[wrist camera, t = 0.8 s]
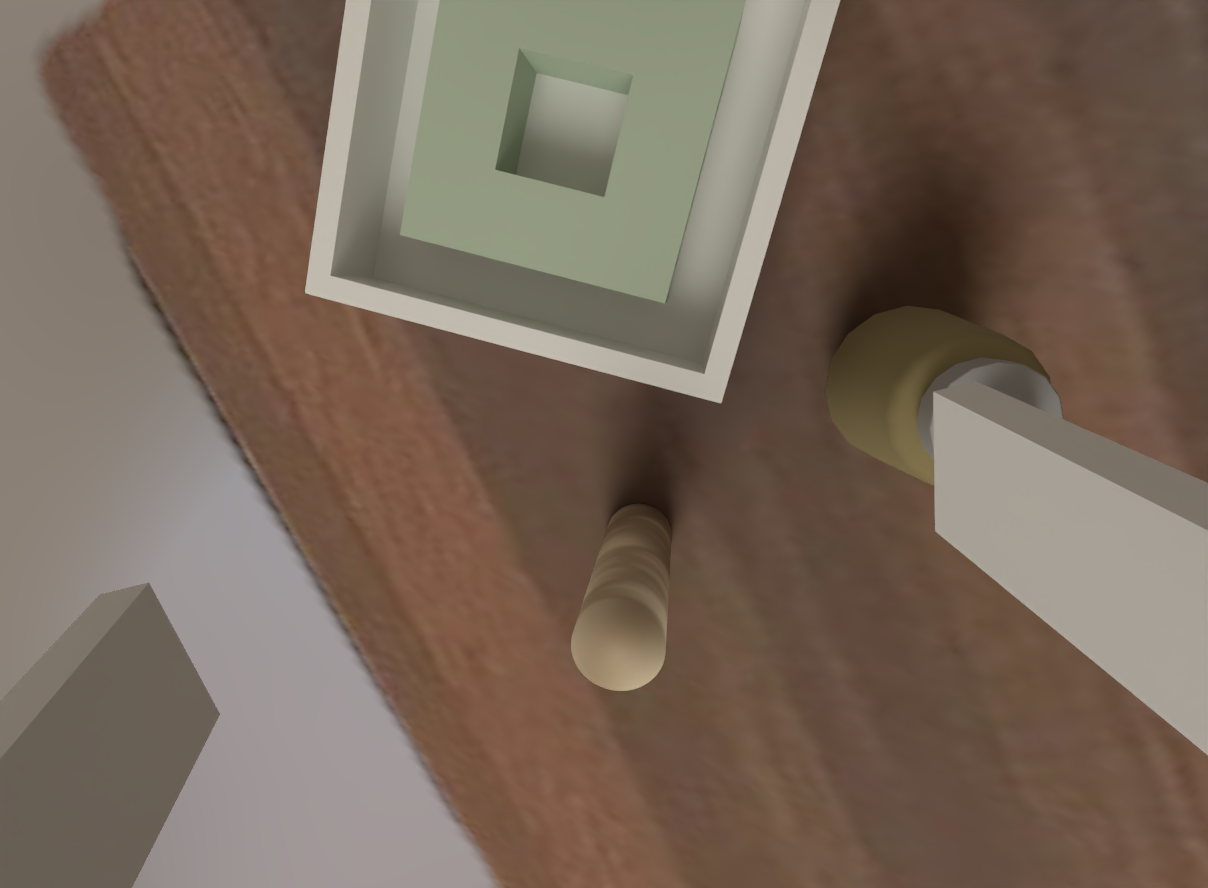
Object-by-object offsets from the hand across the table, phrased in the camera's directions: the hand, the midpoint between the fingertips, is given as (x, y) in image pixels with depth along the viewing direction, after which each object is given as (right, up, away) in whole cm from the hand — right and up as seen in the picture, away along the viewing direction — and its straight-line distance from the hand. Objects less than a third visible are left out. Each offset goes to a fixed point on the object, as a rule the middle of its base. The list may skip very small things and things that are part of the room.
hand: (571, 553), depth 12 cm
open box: (-1, +18, +27) cm, 32 cm away
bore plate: (-1, +18, +27) cm, 32 cm away
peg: (+3, -4, +31) cm, 32 cm away
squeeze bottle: (+16, +6, +28) cm, 33 cm away
